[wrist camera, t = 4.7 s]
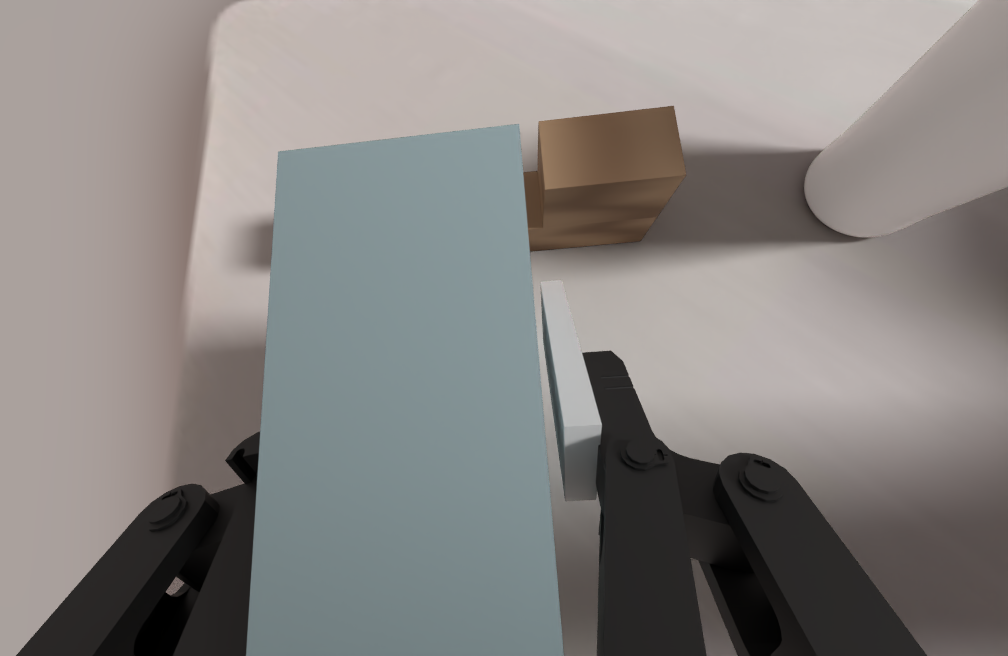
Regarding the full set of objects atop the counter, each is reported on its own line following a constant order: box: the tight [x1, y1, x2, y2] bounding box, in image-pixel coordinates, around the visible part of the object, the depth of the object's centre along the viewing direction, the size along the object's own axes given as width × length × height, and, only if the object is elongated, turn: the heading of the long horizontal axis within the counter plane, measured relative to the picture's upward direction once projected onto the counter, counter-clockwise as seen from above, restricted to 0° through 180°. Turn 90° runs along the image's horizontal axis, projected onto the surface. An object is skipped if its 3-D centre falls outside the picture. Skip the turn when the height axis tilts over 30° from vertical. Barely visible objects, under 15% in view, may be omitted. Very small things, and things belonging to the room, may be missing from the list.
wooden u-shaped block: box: [331, 106, 686, 251], centre depth 17 cm, size 16×3×6 cm, turn 94°
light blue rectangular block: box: [246, 124, 564, 656], centre depth 11 cm, size 4×9×14 cm, turn 4°
